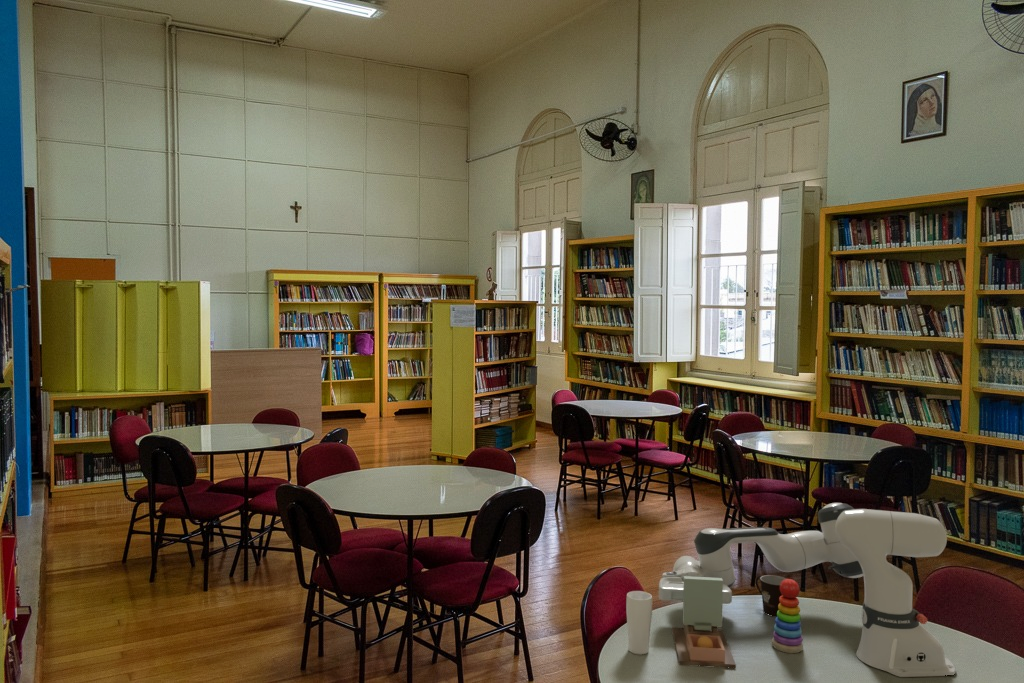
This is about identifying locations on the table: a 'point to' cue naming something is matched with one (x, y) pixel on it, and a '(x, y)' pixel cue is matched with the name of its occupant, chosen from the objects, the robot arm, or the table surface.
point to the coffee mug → (770, 592)
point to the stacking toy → (788, 619)
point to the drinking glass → (638, 621)
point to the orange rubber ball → (705, 642)
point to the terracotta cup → (705, 650)
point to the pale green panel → (702, 602)
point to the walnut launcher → (681, 634)
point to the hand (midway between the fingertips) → (697, 602)
